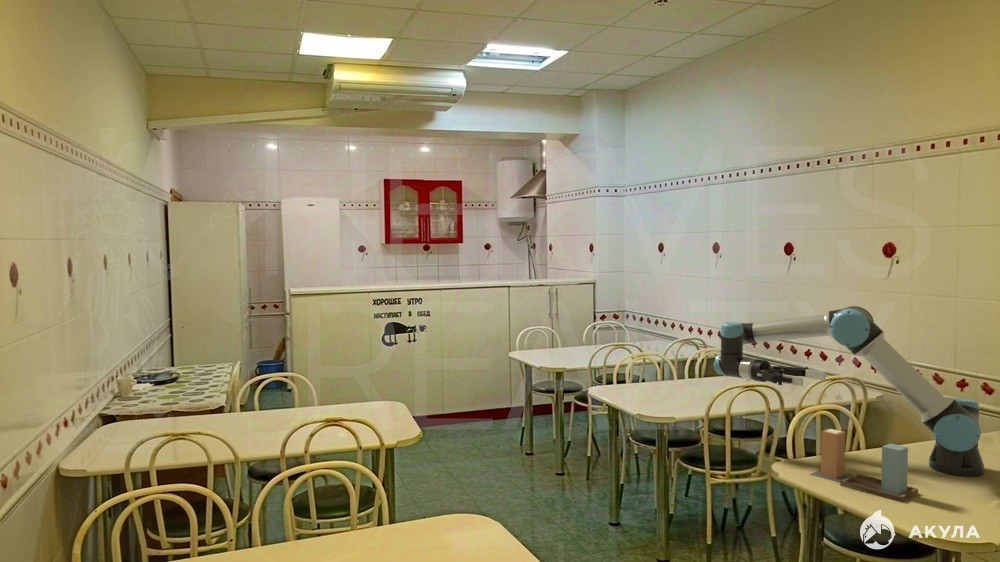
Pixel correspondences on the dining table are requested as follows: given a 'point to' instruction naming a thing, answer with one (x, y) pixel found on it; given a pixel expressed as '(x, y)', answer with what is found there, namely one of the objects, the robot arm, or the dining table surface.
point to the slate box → (894, 469)
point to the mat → (818, 474)
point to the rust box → (832, 453)
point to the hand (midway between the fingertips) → (813, 379)
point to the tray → (874, 487)
